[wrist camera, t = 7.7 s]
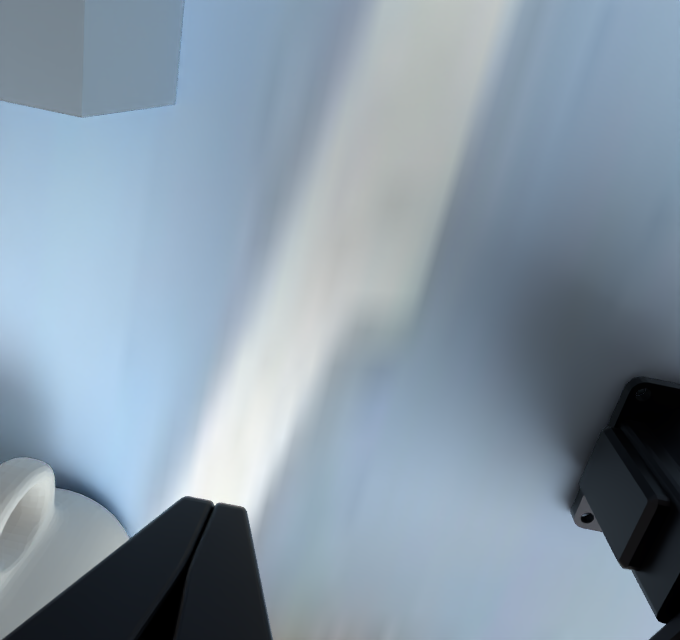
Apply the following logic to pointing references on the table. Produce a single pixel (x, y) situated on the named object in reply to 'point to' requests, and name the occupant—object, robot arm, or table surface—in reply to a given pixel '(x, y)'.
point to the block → (90, 54)
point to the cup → (46, 539)
